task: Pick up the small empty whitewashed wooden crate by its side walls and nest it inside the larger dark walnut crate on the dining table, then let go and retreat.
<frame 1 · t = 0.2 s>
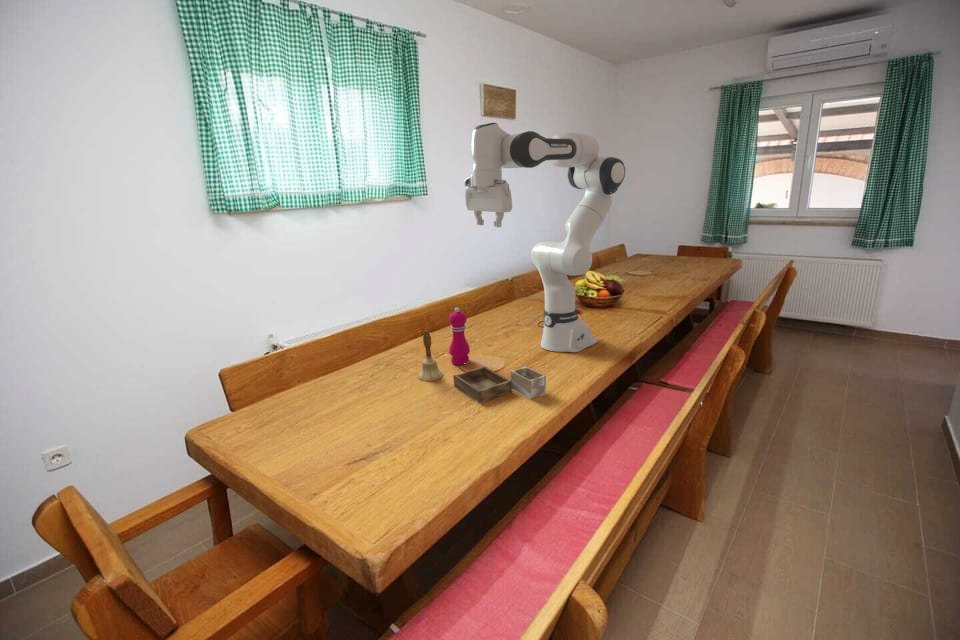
hand: (488, 226, 146), 47 cm above the table, fingers open, 8 cm apart
pepper mill: (460, 362, 165), on the table
big crate: (482, 388, 143), on the table
small crate: (528, 391, 140), on the table
hand bell: (430, 376, 154), on the table
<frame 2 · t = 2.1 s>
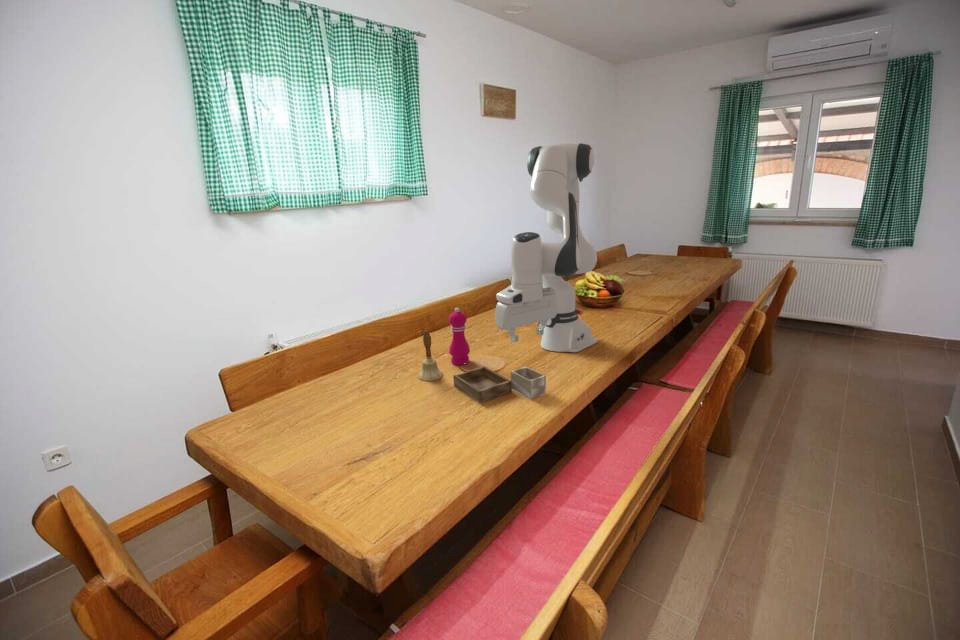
hand: (527, 337, 135), 17 cm above the table, fingers open, 8 cm apart
nothing on the table moved.
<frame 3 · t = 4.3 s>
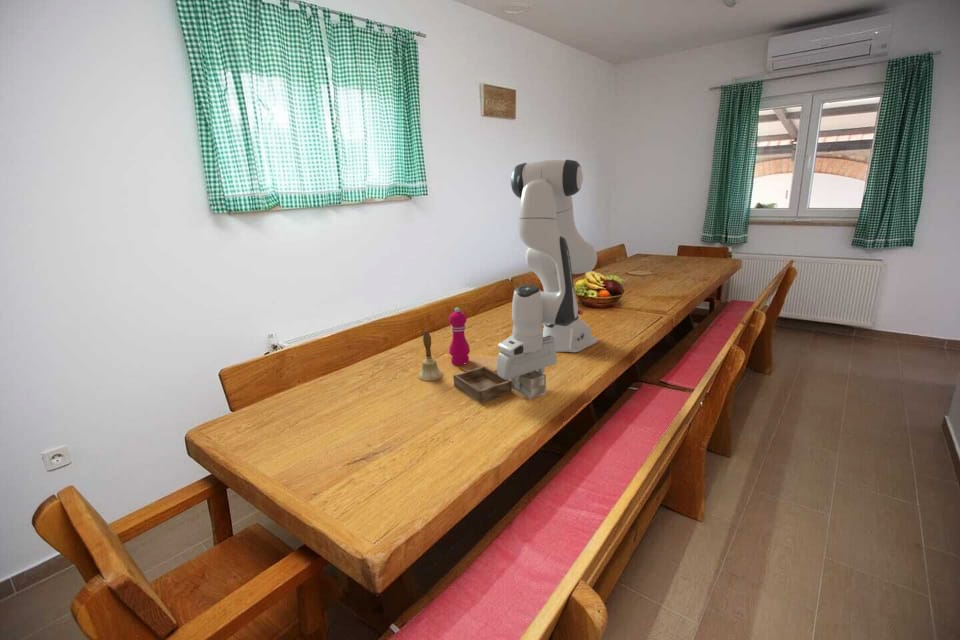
hand: (528, 384, 140), 2 cm above the table, fingers closed on small crate, 6 cm apart
small crate: (528, 391, 140), on the table, touching gripper
everything else where it was.
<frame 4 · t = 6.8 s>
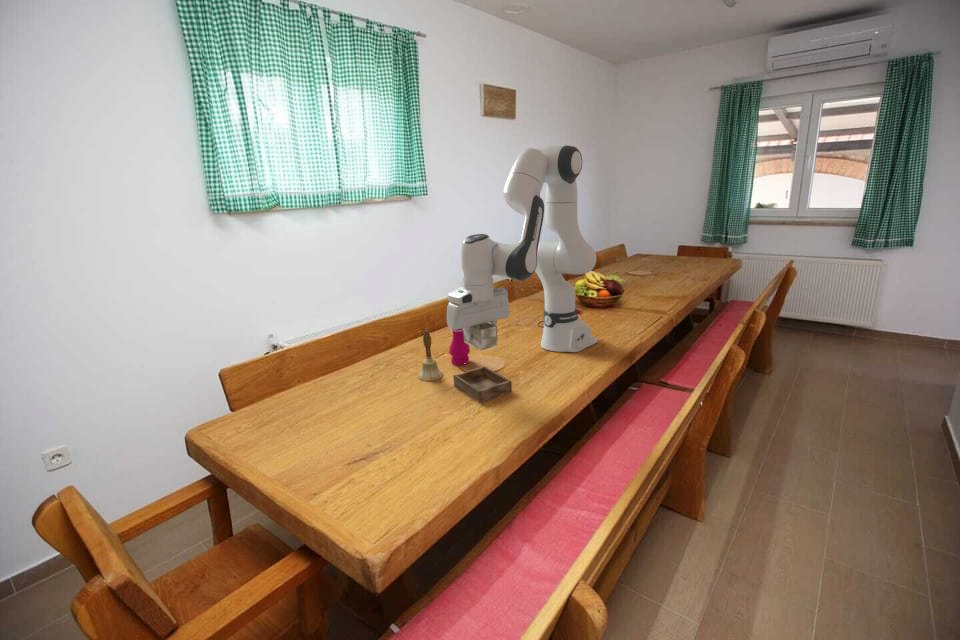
hand: (480, 337, 138), 17 cm above the table, fingers closed on small crate, 6 cm apart
small crate: (480, 344, 139), point 15 cm above the table, touching gripper
everything else where it was.
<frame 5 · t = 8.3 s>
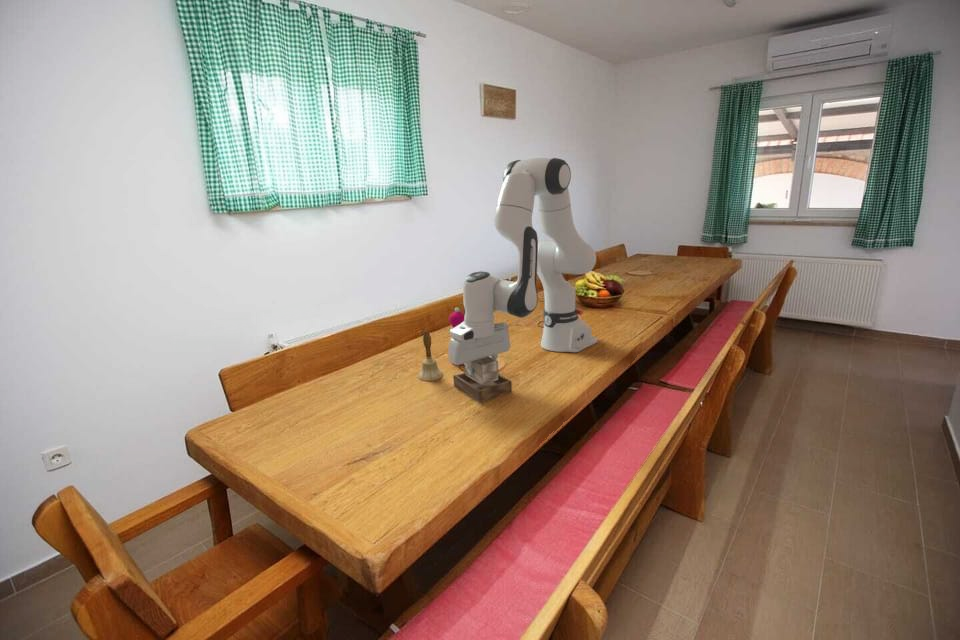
hand: (481, 370, 141), 6 cm above the table, fingers closed on small crate, 6 cm apart
small crate: (481, 377, 142), point 4 cm above the table, touching gripper
everything else where it was.
when the fingers open (4 cm above the table, at t = 9.5 s): small crate drops 2 cm, resting on big crate.
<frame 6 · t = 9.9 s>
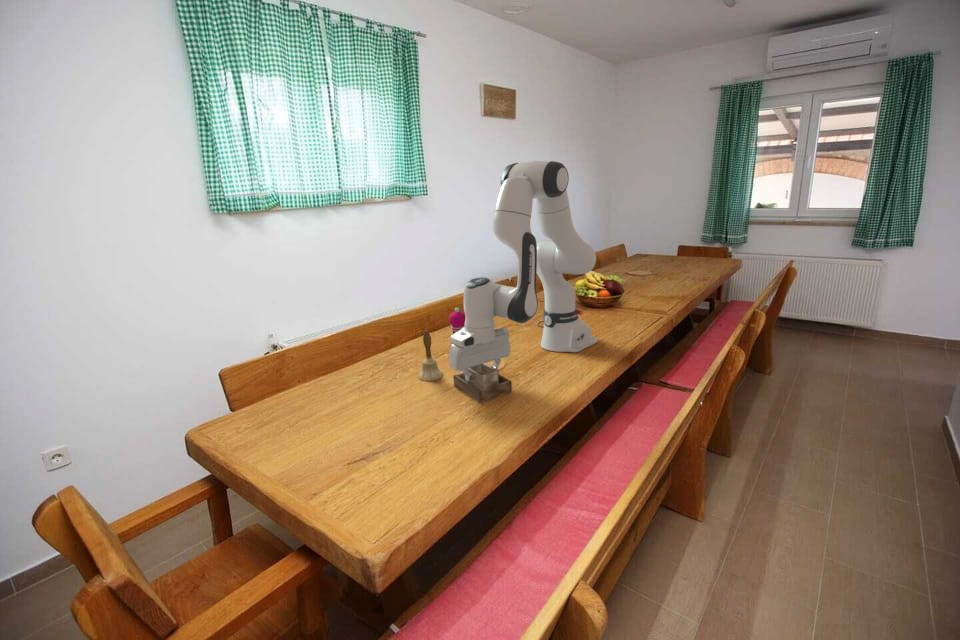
hand: (481, 376, 142), 4 cm above the table, fingers open, 8 cm apart
small crate: (482, 387, 143), point 1 cm above the table, touching big crate
everything else where it was.
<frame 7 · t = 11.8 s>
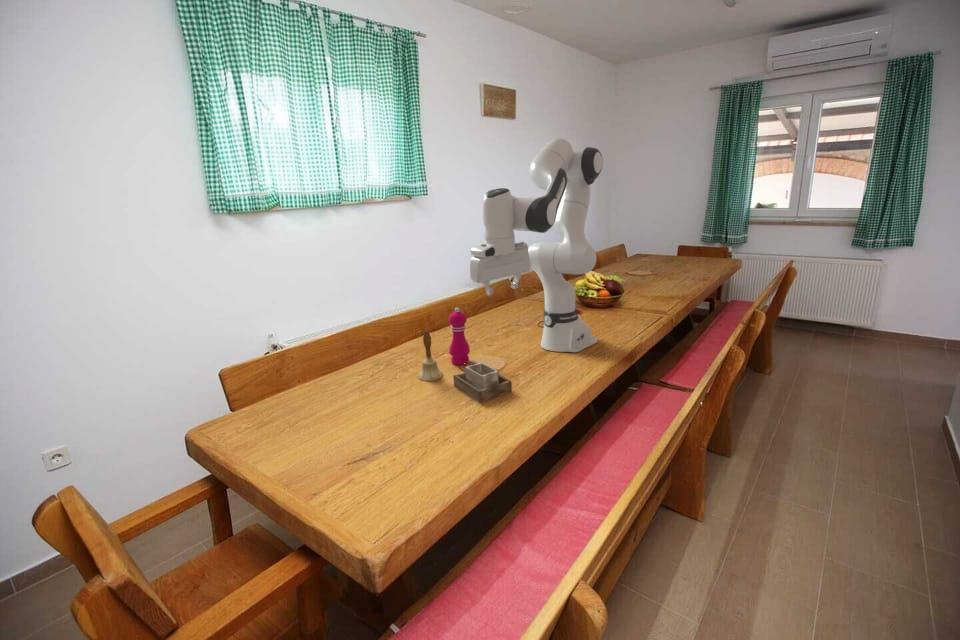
hand: (502, 291, 142), 29 cm above the table, fingers open, 8 cm apart
nothing on the table moved.
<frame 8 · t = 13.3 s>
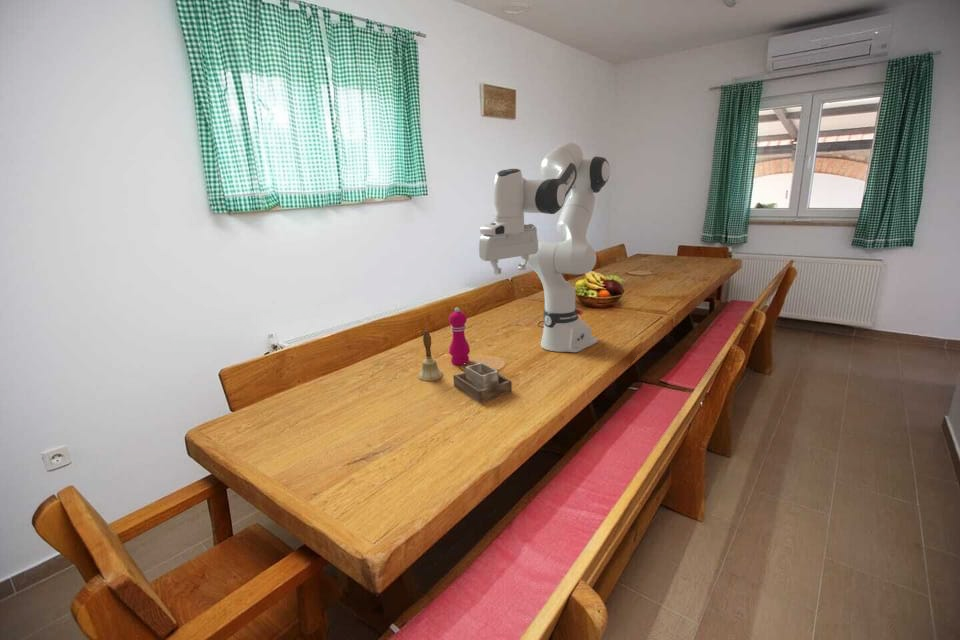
hand: (510, 271, 143), 34 cm above the table, fingers open, 8 cm apart
nothing on the table moved.
at the end: small crate 0.1 cm off-centre on the big crate, point 0.6 cm above the big crate's base; small crate tilted 0°; the gripper is holding nothing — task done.
